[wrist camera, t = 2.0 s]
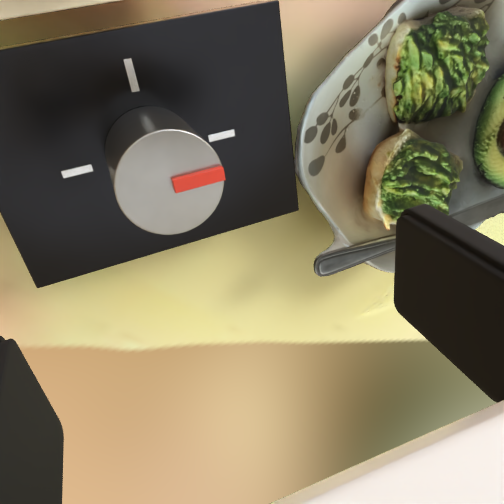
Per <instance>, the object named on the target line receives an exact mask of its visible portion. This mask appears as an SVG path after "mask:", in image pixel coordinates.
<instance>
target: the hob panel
mask: <svg viewBox="0 0 504 504" xmlns="http://www.w3.org/2000/svg"><path fill="white" fill-rule="evenodd" d="M144 106H156V107H161V108H165V109H167V110H170V111H172V112H174V113H175V114H177V115H178V116H179V117H181V118H182V119H183V120H184V121H185V122H186V123H187V124H188V125H189V126H190V127H191V128H192V129H193V130H194V131H196V132H197V133H198V134H199V135H200V136H201V137H202V138H203V139H204V140H205V141H206V142H207V143H208V144H209V145H210V146H211V147H212V148H213V149H214V151H215V152H216V154H217V155H218V157H219V159H220V162H221V164H222V167H223V168H224V173H225V179H226V180H224V187H223V192H222V196H221V199H220V201H219V203H218V205H217V207H216V209H215V210H214V211H213V213H212V214H211V215H210V216H209V217H208V218H207V219H206V220H205V221H204V222H203V223H202V224H200V225H199V226H197V227H195V228H193V229H191V230H189V231H186V232H183V233H179V234H172V235H162V234H155V233H151V232H148V231H146V230H143V229H141V228H140V227H138V226H136V225H135V224H134V223H132V222H131V221H130V220H129V219H128V218H127V217H126V216H125V214H124V213H123V212H122V210H121V208H120V207H119V205H118V202H117V200H116V196H115V192H114V188H113V185H112V181H111V177H110V173H109V169H108V165H107V161H106V156H105V144H106V139H107V136H108V133H109V131H110V129H111V127H112V126H113V124H114V123H115V122H116V121H117V120H118V119H119V118H120V117H121V116H122V115H124V114H125V113H127V112H128V111H130V110H133V109H135V108H139V107H144ZM298 210H299V208H298V198H297V188H296V177H295V167H294V156H293V146H292V135H291V125H290V114H289V104H288V93H287V83H286V72H285V62H284V52H283V41H282V31H281V20H280V10H279V1H278V0H272V1H258V2H252V3H246V4H241V5H235V6H229V7H224V8H218V9H212V10H207V11H201V12H195V13H190V14H184V15H178V16H173V17H167V18H162V19H156V20H150V21H145V22H139V23H133V24H128V25H122V26H116V27H111V28H105V29H99V30H94V31H88V32H83V33H77V34H71V35H66V36H60V37H54V38H49V39H43V40H37V41H32V42H26V43H20V44H15V45H9V46H3V47H0V213H1V215H2V217H3V219H4V221H5V223H6V225H7V227H8V229H9V231H10V233H11V236H12V238H13V240H14V242H15V244H16V246H17V248H18V250H19V252H20V254H21V256H22V258H23V260H24V262H25V264H26V266H27V269H28V271H29V273H30V275H31V277H32V279H33V281H34V283H35V285H36V287H37V288H40V287H44V286H47V285H50V284H54V283H57V282H60V281H64V280H67V279H70V278H74V277H77V276H80V275H84V274H87V273H90V272H94V271H97V270H100V269H104V268H107V267H110V266H114V265H117V264H120V263H124V262H127V261H131V260H134V259H137V258H141V257H144V256H147V255H151V254H154V253H157V252H161V251H164V250H167V249H171V248H174V247H177V246H181V245H184V244H187V243H191V242H194V241H197V240H201V239H204V238H207V237H211V236H214V235H217V234H221V233H224V232H227V231H231V230H234V229H237V228H241V227H244V226H248V225H251V224H254V223H258V222H261V221H264V220H268V219H271V218H274V217H278V216H281V215H284V214H288V213H291V212H294V211H298Z"/></svg>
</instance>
